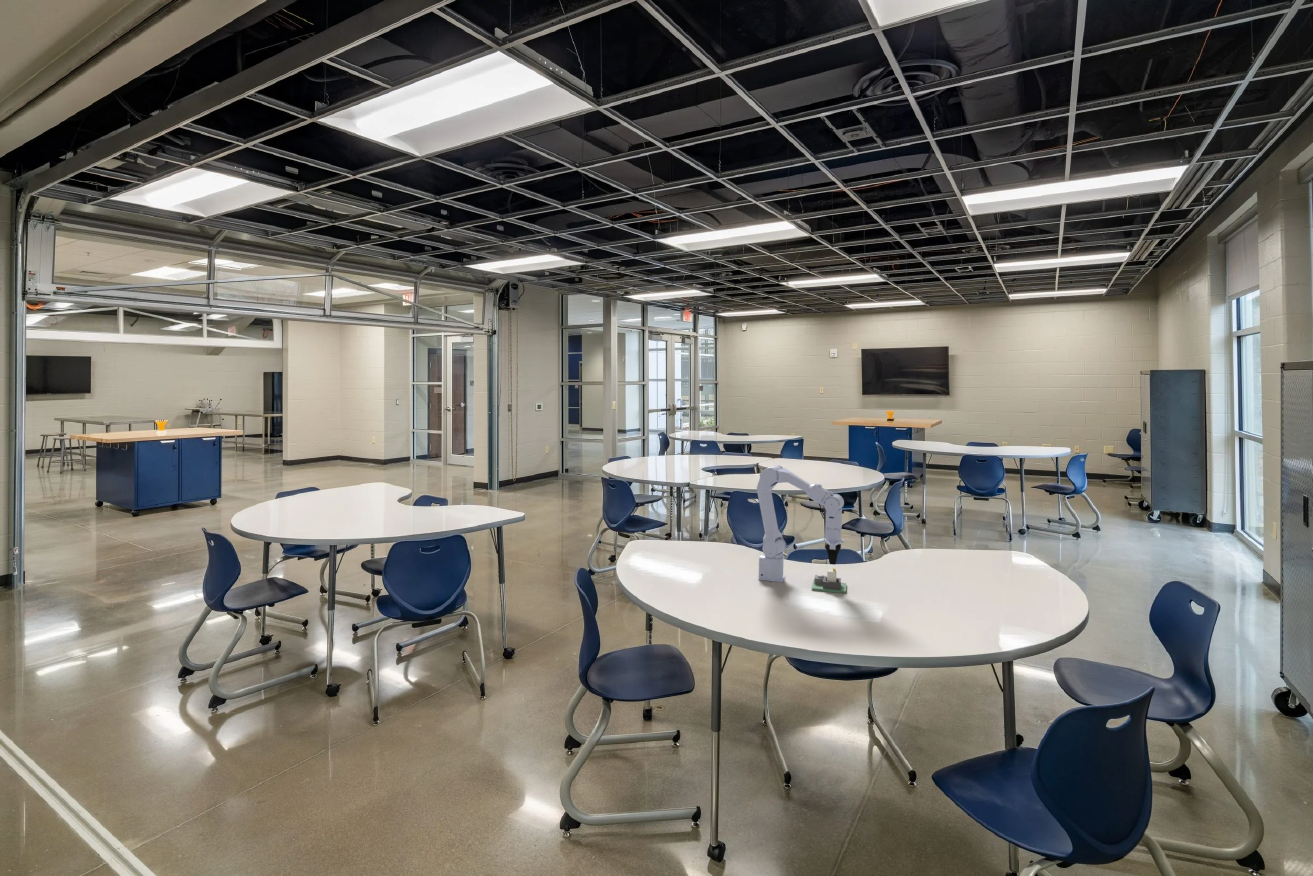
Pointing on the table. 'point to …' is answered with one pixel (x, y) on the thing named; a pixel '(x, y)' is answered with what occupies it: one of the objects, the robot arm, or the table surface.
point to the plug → (831, 575)
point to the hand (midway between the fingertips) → (832, 563)
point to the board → (828, 585)
